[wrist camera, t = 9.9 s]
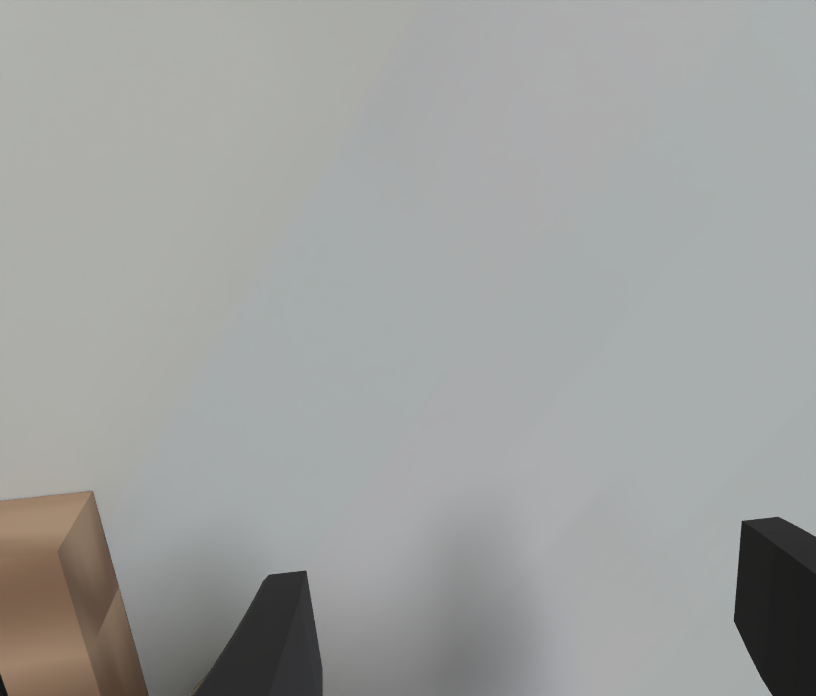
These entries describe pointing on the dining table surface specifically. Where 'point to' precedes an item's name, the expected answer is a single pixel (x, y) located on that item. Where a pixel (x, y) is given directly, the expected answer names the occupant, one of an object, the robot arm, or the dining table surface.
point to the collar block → (62, 603)
